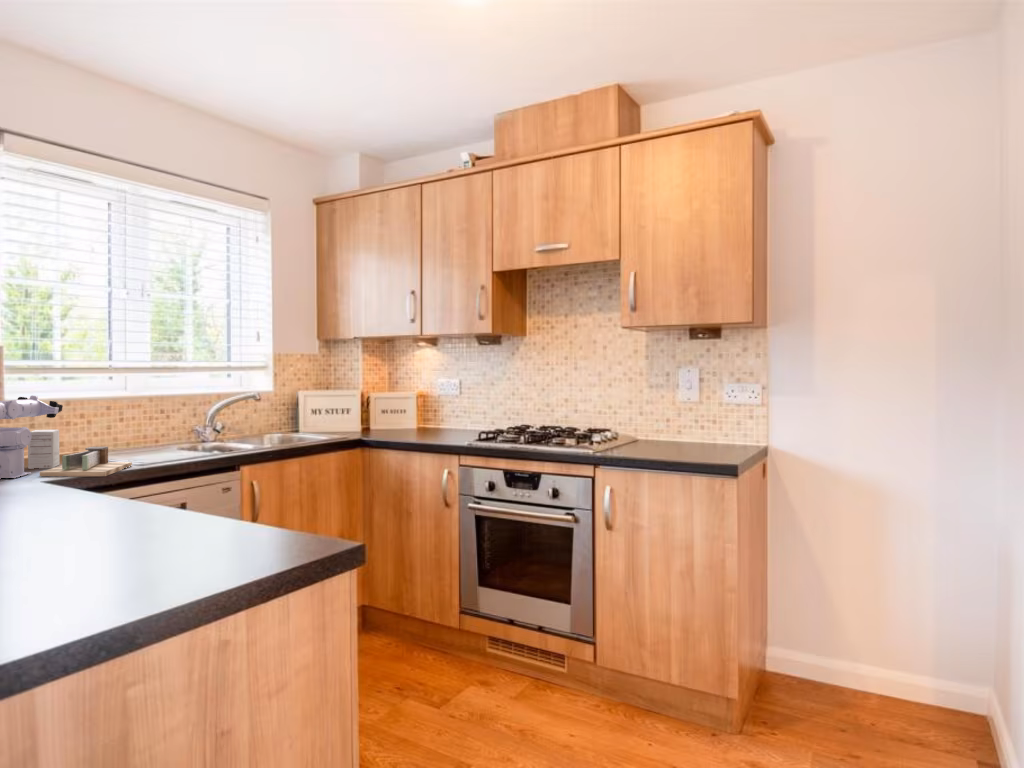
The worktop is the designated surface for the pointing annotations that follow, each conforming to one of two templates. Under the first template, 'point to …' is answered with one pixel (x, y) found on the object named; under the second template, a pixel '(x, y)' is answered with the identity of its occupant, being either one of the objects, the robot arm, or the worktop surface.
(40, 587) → the worktop surface
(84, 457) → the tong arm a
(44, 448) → the supplement box
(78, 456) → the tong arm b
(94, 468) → the tong board
